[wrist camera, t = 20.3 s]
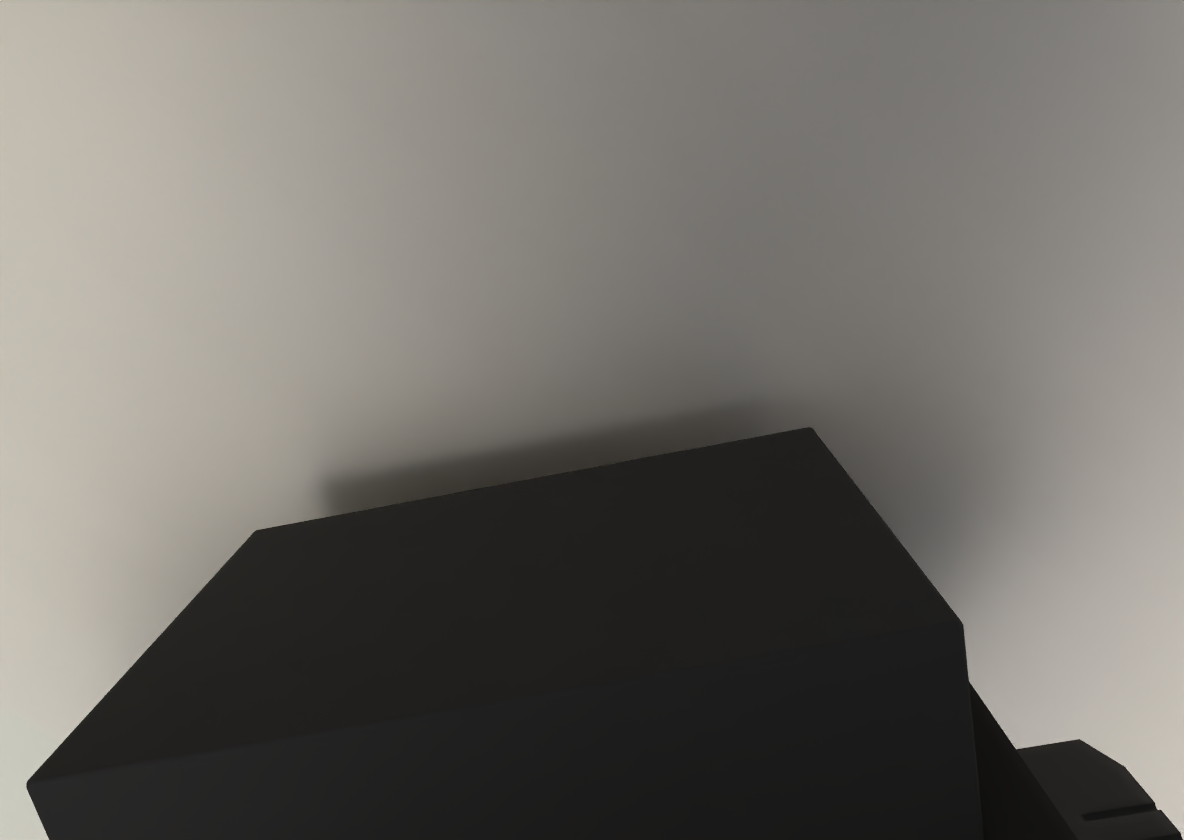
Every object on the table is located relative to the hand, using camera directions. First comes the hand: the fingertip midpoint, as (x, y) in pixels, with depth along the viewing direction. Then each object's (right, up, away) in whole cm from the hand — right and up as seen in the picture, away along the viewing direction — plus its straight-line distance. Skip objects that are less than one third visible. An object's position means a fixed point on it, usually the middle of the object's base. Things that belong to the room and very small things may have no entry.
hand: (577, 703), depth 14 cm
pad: (0, -2, +1) cm, 2 cm away
